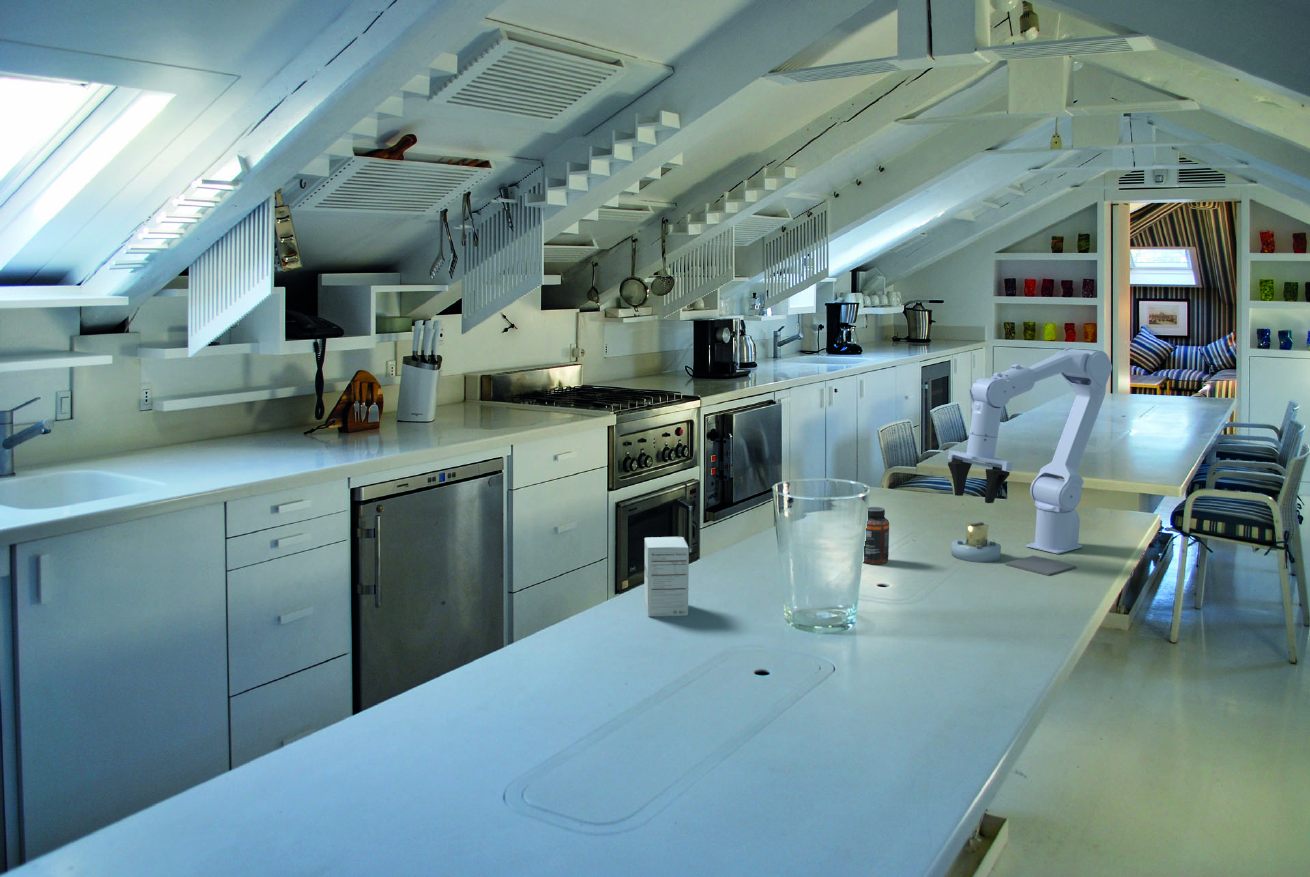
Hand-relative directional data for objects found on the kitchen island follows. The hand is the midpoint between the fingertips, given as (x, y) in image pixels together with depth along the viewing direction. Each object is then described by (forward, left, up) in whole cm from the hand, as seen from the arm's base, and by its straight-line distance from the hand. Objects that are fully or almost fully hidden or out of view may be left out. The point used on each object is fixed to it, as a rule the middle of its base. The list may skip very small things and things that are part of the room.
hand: (973, 499), depth 223 cm
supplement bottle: (+19, -10, -13) cm, 25 cm away
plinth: (-2, 0, -13) cm, 13 cm away
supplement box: (+74, -10, -13) cm, 76 cm away
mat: (-6, +13, -13) cm, 19 cm away
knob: (-2, 0, -10) cm, 10 cm away
